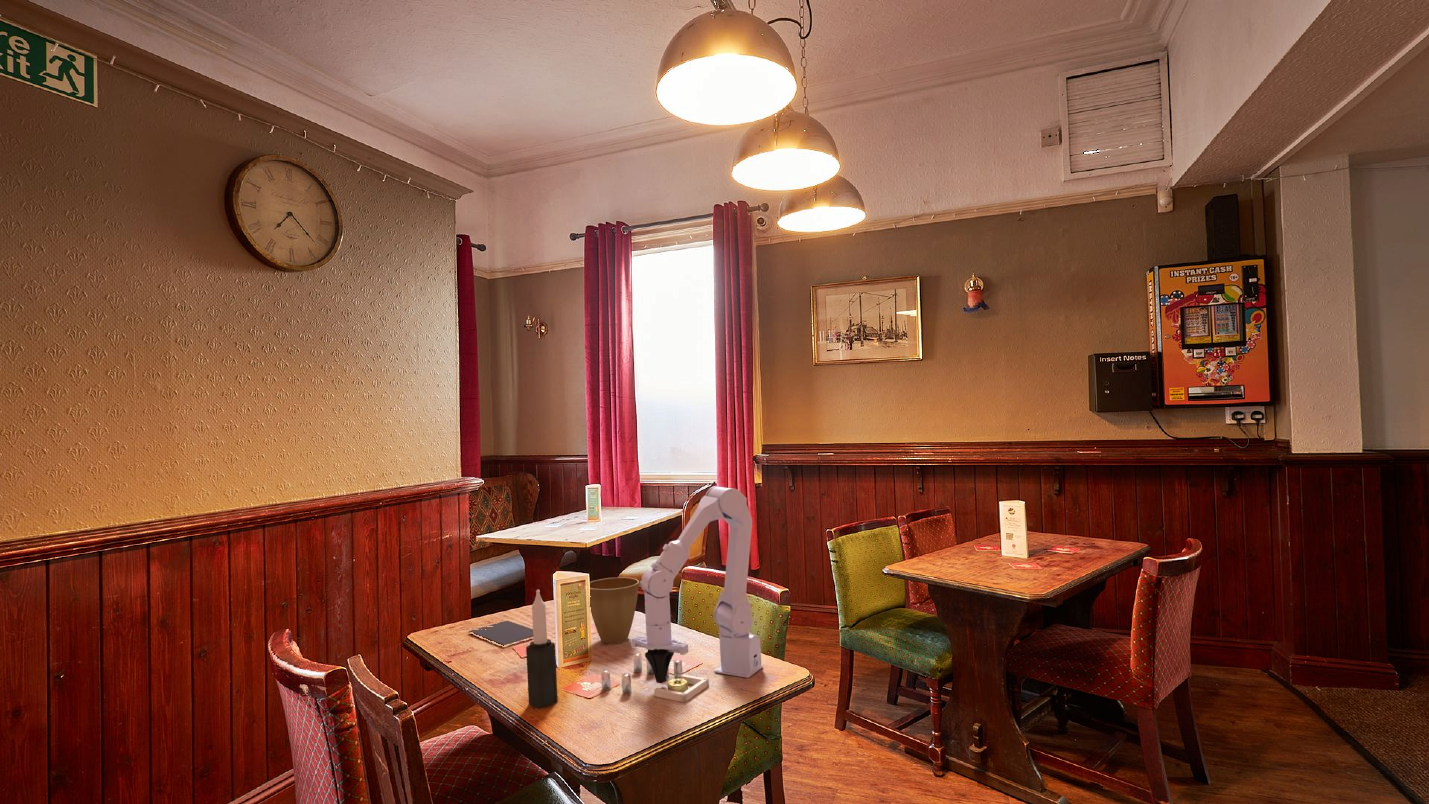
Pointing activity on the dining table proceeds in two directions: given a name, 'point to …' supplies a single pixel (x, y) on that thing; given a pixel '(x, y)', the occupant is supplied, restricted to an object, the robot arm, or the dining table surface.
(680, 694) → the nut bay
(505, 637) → the notebook
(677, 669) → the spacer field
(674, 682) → the brass nut
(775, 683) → the dining table surface
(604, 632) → the plant pot
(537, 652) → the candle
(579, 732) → the dining table surface
